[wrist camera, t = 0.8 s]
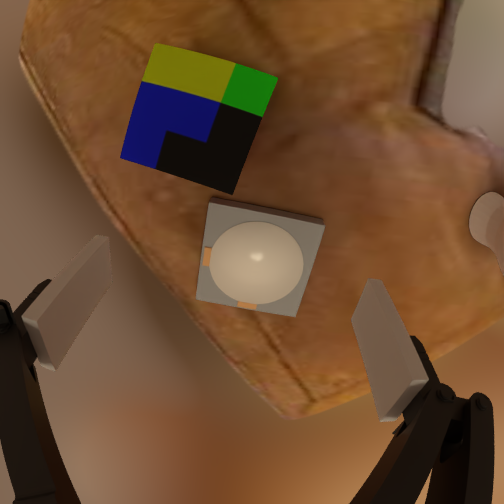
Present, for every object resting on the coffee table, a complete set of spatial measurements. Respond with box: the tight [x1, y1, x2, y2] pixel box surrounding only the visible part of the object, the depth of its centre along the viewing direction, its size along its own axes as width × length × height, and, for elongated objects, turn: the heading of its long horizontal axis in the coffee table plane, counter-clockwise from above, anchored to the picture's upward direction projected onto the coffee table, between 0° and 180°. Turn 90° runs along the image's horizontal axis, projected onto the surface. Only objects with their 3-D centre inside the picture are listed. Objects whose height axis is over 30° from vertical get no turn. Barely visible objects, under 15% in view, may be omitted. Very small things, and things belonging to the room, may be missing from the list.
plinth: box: [196, 197, 325, 317], centre depth 37 cm, size 13×13×2 cm
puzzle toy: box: [120, 43, 278, 195], centre depth 26 cm, size 10×10×10 cm
